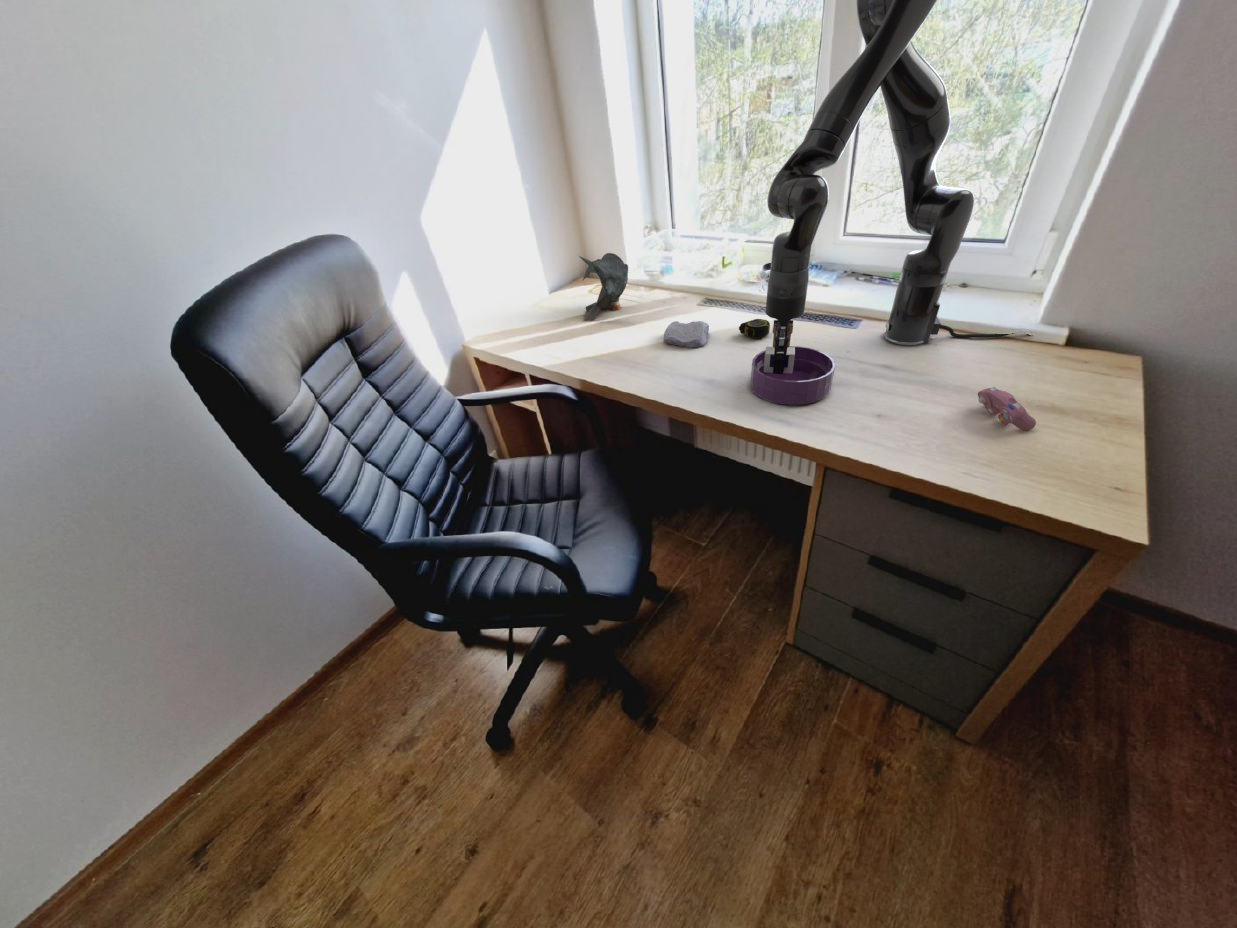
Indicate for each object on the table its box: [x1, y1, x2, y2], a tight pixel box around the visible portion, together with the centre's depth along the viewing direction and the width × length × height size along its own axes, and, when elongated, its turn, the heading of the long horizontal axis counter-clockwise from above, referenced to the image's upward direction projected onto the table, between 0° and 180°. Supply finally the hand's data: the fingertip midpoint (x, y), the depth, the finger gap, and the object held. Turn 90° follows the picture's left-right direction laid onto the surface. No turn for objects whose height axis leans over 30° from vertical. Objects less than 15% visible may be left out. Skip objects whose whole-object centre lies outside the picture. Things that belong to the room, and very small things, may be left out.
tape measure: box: [738, 318, 771, 339], centre depth 127 cm, size 7×7×4 cm
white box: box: [764, 346, 795, 373], centre depth 102 cm, size 6×4×4 cm, turn 73°
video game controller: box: [977, 386, 1037, 431], centre depth 87 cm, size 10×5×7 cm, turn 5°
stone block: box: [663, 320, 710, 349], centre depth 130 cm, size 12×5×10 cm
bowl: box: [749, 345, 836, 406], centre depth 104 cm, size 17×17×6 cm
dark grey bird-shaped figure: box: [578, 252, 629, 322], centre depth 150 cm, size 14×15×18 cm
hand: (778, 368), depth 103 cm, fingers closed on white box, 3 cm apart
